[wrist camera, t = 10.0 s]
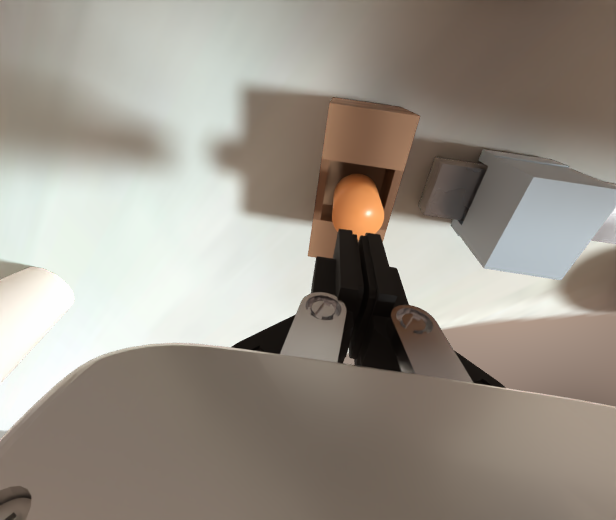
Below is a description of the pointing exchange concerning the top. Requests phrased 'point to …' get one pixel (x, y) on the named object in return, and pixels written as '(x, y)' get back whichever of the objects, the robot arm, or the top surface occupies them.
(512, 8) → the top surface
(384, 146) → the tan slotted block
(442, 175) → the rail
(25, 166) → the top surface
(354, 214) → the peg
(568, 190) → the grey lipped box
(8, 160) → the top surface
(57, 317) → the foam cup
